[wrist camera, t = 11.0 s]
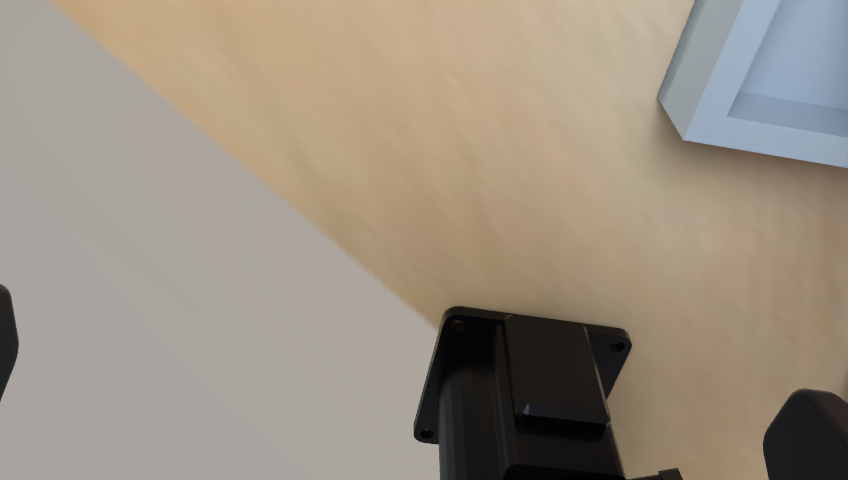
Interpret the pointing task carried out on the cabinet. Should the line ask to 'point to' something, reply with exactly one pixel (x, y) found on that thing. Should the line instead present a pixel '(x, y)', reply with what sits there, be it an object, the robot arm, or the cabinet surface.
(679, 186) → the cabinet surface
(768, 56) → the tray
